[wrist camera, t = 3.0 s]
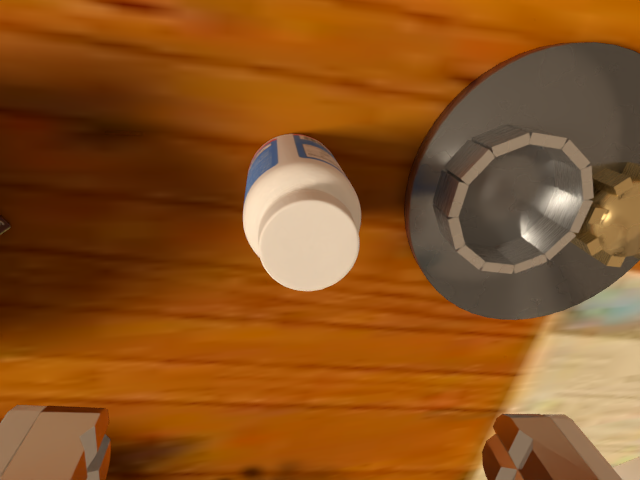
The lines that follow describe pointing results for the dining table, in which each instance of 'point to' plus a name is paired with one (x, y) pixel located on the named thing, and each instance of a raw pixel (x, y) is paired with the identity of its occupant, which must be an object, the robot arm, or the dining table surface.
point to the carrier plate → (532, 183)
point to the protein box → (3, 225)
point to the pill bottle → (301, 213)
